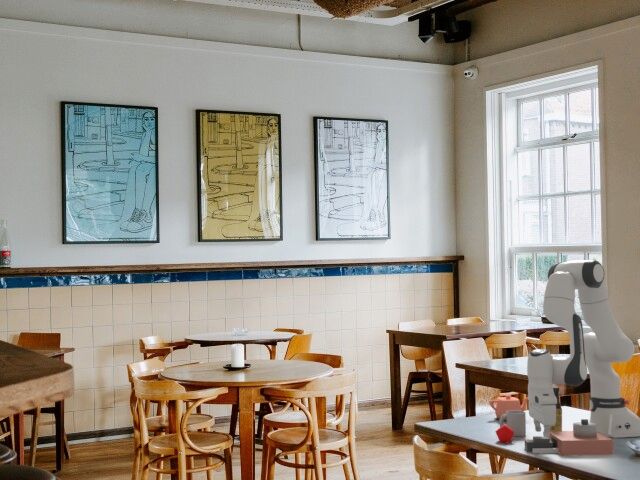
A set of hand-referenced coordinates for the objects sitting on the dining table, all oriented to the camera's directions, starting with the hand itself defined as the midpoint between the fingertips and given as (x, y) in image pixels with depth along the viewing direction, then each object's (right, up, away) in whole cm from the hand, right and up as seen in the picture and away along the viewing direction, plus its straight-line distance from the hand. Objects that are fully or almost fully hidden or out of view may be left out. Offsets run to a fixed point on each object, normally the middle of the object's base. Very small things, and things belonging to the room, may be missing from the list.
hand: (542, 434), depth 292 cm
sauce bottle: (+9, -6, +17) cm, 20 cm away
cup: (-4, -7, +27) cm, 28 cm away
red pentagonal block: (-10, -7, +15) cm, 19 cm away
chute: (-1, -6, 0) cm, 6 cm away
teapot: (+2, -8, +59) cm, 59 cm away
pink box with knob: (+9, -6, 0) cm, 11 cm away
